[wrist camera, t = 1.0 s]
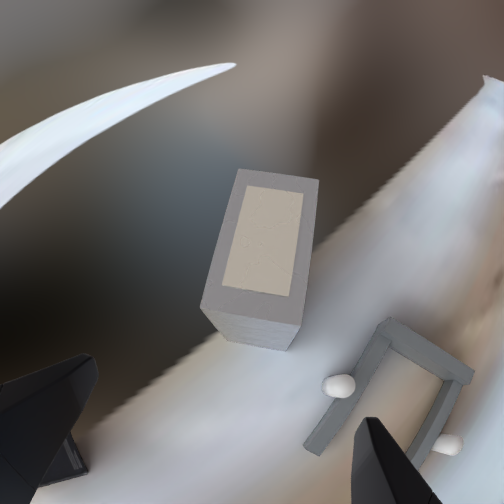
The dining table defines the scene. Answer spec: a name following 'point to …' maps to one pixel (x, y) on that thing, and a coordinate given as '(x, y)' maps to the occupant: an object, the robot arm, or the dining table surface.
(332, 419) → the dock
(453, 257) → the dining table surface
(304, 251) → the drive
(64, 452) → the small box
